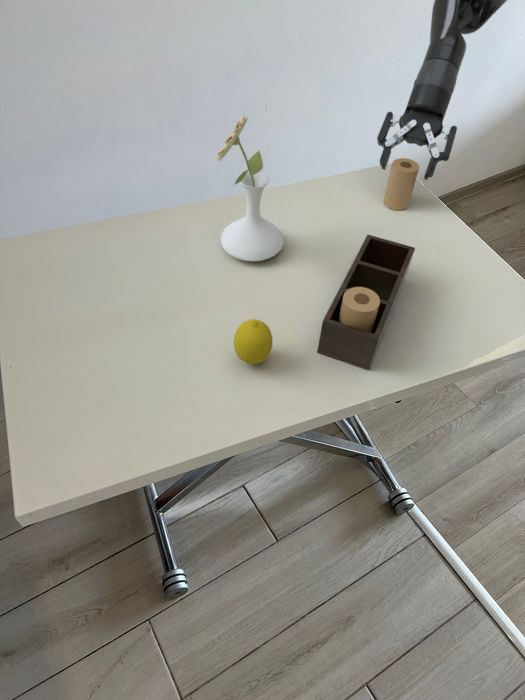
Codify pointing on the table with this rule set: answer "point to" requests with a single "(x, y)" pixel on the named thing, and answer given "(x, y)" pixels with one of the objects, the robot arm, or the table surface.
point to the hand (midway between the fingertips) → (404, 173)
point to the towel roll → (400, 183)
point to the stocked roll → (359, 308)
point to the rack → (379, 276)
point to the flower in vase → (250, 210)
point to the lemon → (253, 341)
